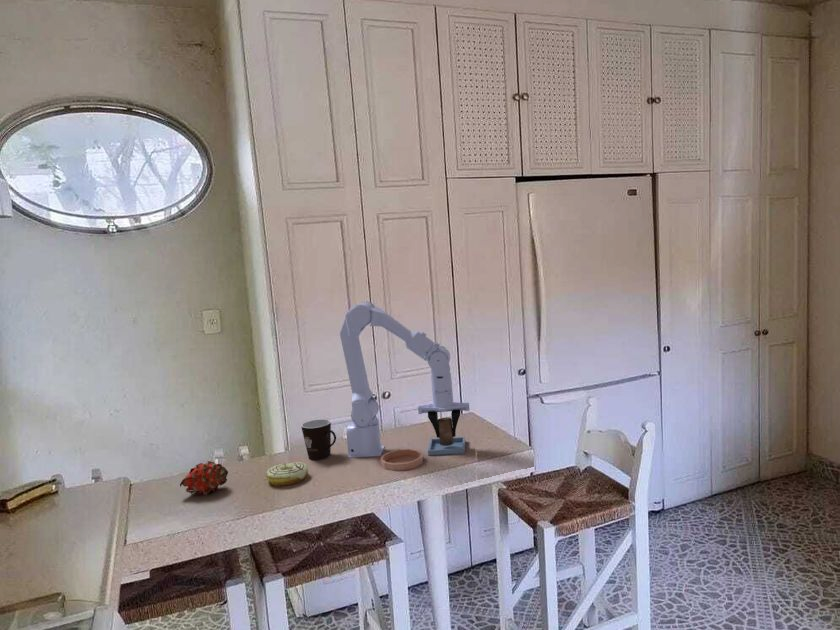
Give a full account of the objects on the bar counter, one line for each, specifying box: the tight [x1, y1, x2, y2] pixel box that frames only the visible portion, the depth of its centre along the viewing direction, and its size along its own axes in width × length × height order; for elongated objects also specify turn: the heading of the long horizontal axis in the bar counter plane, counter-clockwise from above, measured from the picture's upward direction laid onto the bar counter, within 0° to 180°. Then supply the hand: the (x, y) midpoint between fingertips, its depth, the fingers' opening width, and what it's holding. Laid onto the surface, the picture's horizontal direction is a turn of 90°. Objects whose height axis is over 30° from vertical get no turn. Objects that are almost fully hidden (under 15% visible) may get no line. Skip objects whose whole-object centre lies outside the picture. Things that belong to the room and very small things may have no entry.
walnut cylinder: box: [438, 417, 454, 446], centre depth 165 cm, size 4×4×7 cm
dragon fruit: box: [179, 460, 229, 496], centre depth 150 cm, size 8×8×12 cm
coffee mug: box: [300, 418, 337, 461], centre depth 168 cm, size 12×9×10 cm
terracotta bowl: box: [379, 448, 424, 471], centre depth 158 cm, size 11×11×2 cm
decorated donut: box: [266, 461, 309, 487], centre depth 154 cm, size 10×11×4 cm
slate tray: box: [427, 436, 466, 457], centre depth 165 cm, size 10×10×2 cm
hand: (446, 436), depth 165 cm, fingers closed on walnut cylinder, 4 cm apart
